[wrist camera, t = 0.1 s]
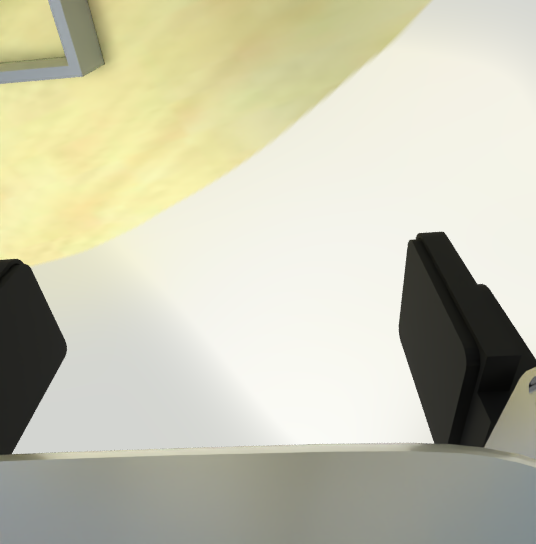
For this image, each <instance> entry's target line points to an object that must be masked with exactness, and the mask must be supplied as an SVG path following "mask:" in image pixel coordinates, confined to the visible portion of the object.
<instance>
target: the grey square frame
mask: <svg viewBox="0 0 536 544" xmlns="http://www.w3.org/2000/svg"><path fill="white" fill-rule="evenodd" d="M48 1H49V5H50V8H51V11H52V14H53V17H54V21H55V24H56V27H57V30H58V33H59V36H60V40H61V43H62V46H63V49H64V52H65V56H66V57H61V58H50V59H39V60H28V61H17V62H6V63H0V84H3V83H14V82H26V81H37V80H48V79H60V78H71V77H82V76H84V75H86V74H88V73H90V72H92V71H93V70H95V69H97V68H99V67H101V66H102V65H104V60H103V57H102V53H101V49H100V46H99V42H98V38H97V34H96V31H95V27H94V23H93V20H92V16H91V12H90V9H89V5H88V1H87V0H48Z"/></svg>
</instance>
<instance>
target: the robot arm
mask: <svg viewBox="0 0 536 544" xmlns="http://www.w3.org/2000/svg"><path fill="white" fill-rule="evenodd" d="M399 335H400V340H401V343H402V346H403V349H404V352H405V355H406V358H407V362H408V365H409V367H410V371H411V374H412V377H413V380H414V383H415V386H416V389H417V392H418V395H419V398H420V401H421V404H422V407H423V410H424V413H425V416H426V419H427V422H428V425H429V428H430V431H431V435H432V438H433V441H434V444H427V443H426V444H424V443H371V444H370V443H367V444H365V443H364V444H308V445H273V446H238V447H204V448H174V449H145V450H116V451H115V450H114V451H86V452H58V453H33V454H12V452H13V450H14V449H15V447H16V445H17V443H18V441H19V440H20V438H21V436H22V434H23V432H24V430H25V429H26V427H27V425H28V423H29V421H30V419H31V418H32V416H33V414H34V412H35V410H36V409H37V407H38V405H39V403H40V401H41V399H42V398H43V396H44V394H45V392H46V390H47V388H48V387H49V385H50V383H51V381H52V379H53V378H54V376H55V374H56V372H57V370H58V368H59V367H60V365H61V363H62V361H63V359H64V358H65V355H66V351H67V346H66V342H65V339H64V337H63V335H62V333H61V331H60V329H59V327H58V325H57V322H56V320H55V318H54V316H53V314H52V312H51V310H50V308H49V306H48V303H47V302H46V299H45V297H44V295H43V293H42V291H41V289H40V287H39V285H38V282H37V281H36V278H35V276H34V274H33V272H32V270H31V268H30V267H29V266H28V265H26V264H24V263H23V262H22V261H21V260H19V259H8V260H0V544H536V359H535V357H534V356H533V354H532V353H531V351H530V350H529V348H528V347H527V345H526V344H525V342H524V341H523V339H522V338H521V336H520V335H519V333H518V332H517V330H516V329H515V327H514V326H513V324H512V323H511V321H510V320H509V318H508V316H507V315H506V313H505V312H504V310H503V309H502V307H501V306H500V304H499V303H498V301H497V300H496V299H495V297H494V295H493V294H492V292H491V291H490V289H489V288H488V287H487V286H486V285H483V284H477V283H476V282H475V280H474V278H473V277H472V275H471V274H470V272H469V270H468V269H467V267H466V266H465V264H464V262H463V261H462V259H461V258H460V256H459V255H458V253H457V251H456V250H455V248H454V247H453V245H452V243H451V242H450V240H449V239H448V237H447V236H446V234H445V233H444V232H432V233H419V234H418V235H417V237H416V240H410V241H409V242H408V248H407V257H406V266H405V275H404V285H403V293H402V302H401V312H400V320H399Z"/></svg>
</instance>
